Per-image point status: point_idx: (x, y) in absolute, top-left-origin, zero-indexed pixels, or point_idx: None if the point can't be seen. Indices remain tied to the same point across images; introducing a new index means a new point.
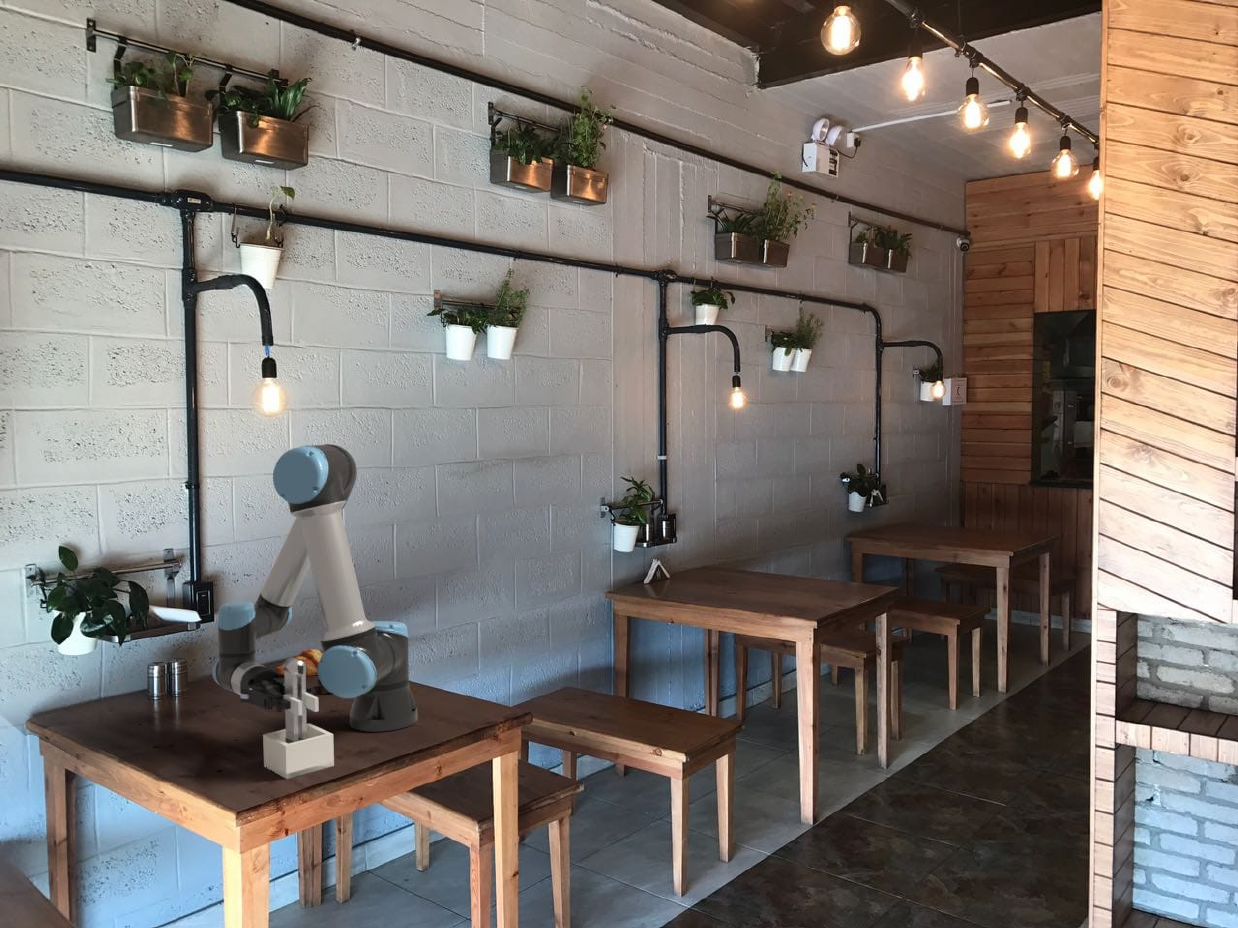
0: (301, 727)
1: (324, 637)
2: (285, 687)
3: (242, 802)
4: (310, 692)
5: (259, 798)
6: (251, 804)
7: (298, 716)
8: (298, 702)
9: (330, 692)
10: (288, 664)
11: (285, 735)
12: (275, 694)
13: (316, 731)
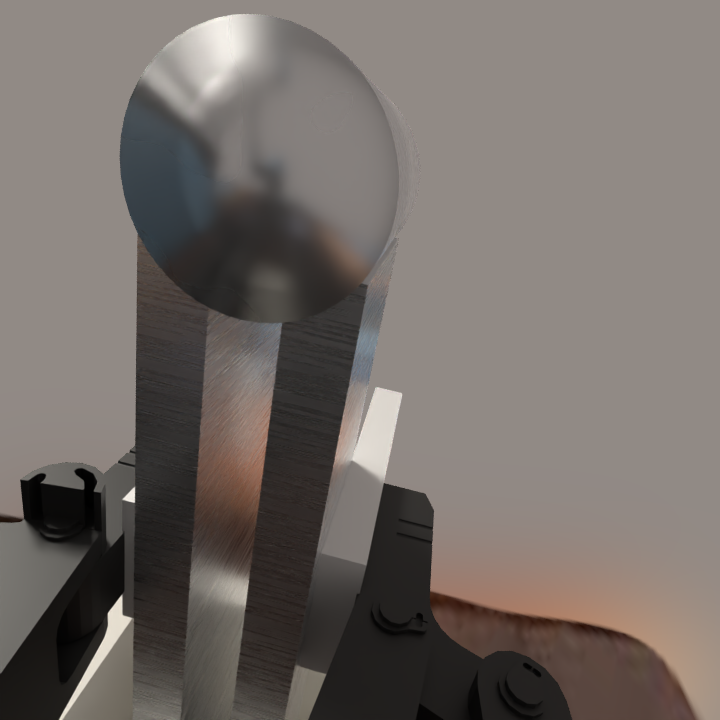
0: (236, 665)
1: None
2: (326, 512)
3: (634, 699)
4: (3, 526)
5: (566, 672)
6: (605, 653)
7: (225, 652)
8: (401, 396)
9: None
10: (407, 140)
11: None
12: (391, 715)
13: (70, 718)
